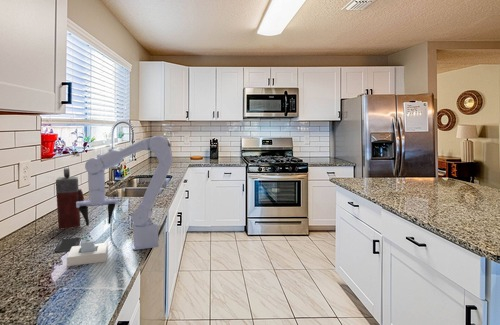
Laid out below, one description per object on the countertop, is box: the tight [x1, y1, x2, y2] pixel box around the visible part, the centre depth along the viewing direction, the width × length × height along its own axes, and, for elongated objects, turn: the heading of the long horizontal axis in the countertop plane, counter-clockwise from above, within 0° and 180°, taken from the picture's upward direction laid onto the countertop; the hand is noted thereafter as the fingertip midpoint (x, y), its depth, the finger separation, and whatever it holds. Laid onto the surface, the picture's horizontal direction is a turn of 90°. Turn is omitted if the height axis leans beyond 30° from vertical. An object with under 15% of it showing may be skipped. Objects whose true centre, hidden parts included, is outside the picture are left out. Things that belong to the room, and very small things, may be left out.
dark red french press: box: [55, 167, 85, 230], centre depth 164 cm, size 9×11×28 cm
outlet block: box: [66, 242, 109, 267], centre depth 122 cm, size 12×12×3 cm
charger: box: [80, 238, 96, 253], centre depth 121 cm, size 4×4×6 cm
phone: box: [54, 237, 82, 253], centre depth 136 cm, size 8×1×15 cm
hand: (98, 224), depth 131 cm, fingers open, 7 cm apart
